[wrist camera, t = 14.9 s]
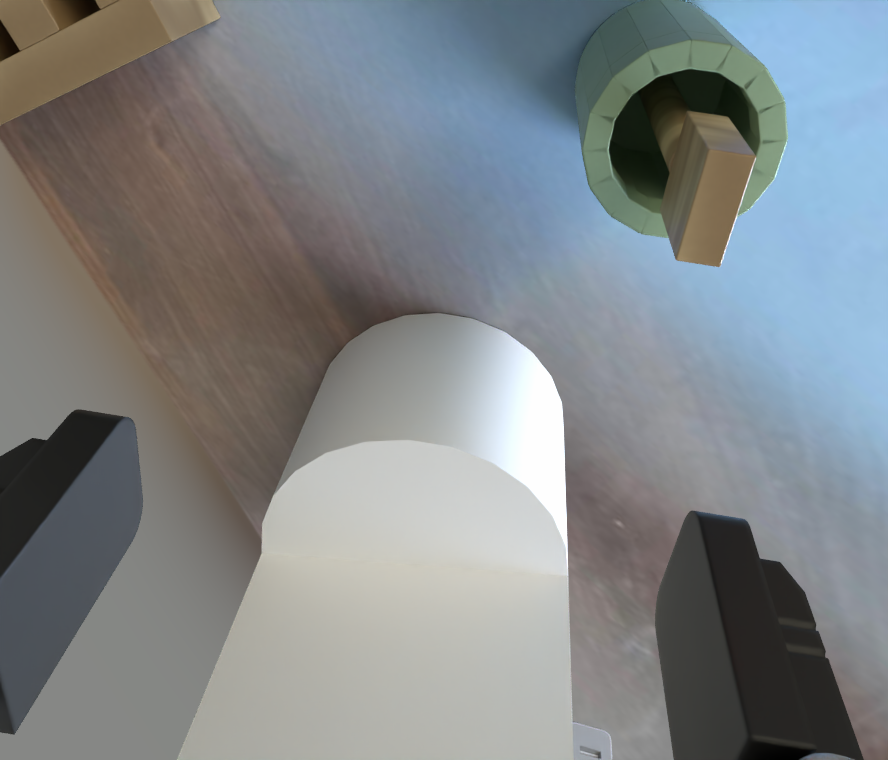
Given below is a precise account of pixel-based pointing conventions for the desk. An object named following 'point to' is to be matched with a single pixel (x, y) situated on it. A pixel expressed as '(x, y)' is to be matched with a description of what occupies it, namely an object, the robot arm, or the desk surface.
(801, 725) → the robot arm
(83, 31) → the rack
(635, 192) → the jar
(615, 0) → the desk surface
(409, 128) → the desk surface
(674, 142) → the wooden paddle
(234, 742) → the cylinder
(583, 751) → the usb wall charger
